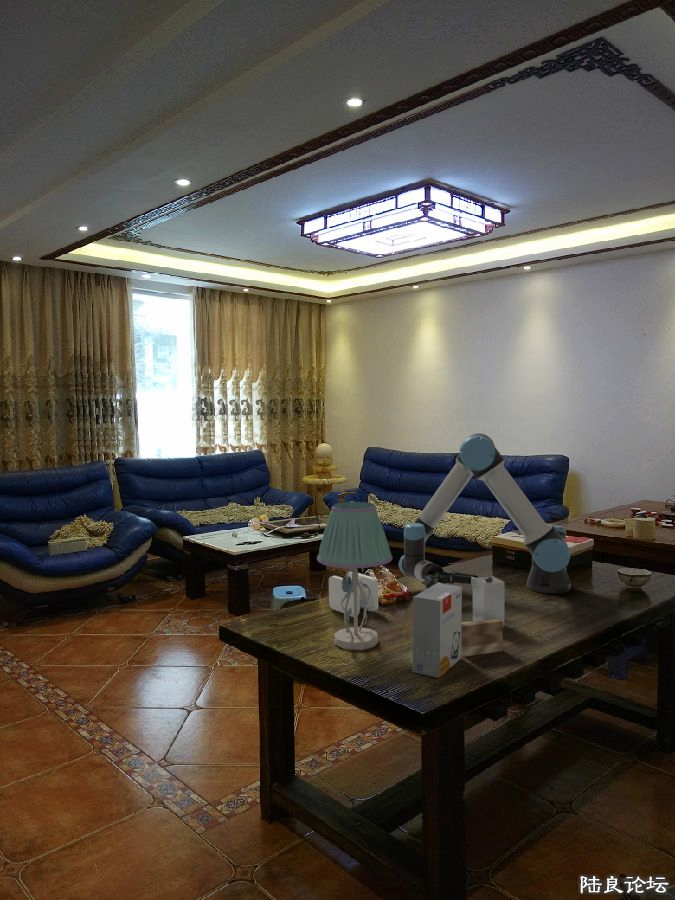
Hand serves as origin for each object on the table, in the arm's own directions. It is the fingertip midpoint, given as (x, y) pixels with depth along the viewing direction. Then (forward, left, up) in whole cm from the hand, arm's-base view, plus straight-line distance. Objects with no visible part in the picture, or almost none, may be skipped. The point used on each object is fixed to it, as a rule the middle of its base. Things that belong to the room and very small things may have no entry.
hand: (467, 589), depth 210 cm
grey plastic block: (+33, -17, -9) cm, 38 cm away
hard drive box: (+26, +33, -9) cm, 43 cm away
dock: (+11, +21, -9) cm, 25 cm away
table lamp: (+41, +10, -9) cm, 43 cm away
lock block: (-2, +10, -9) cm, 13 cm away
